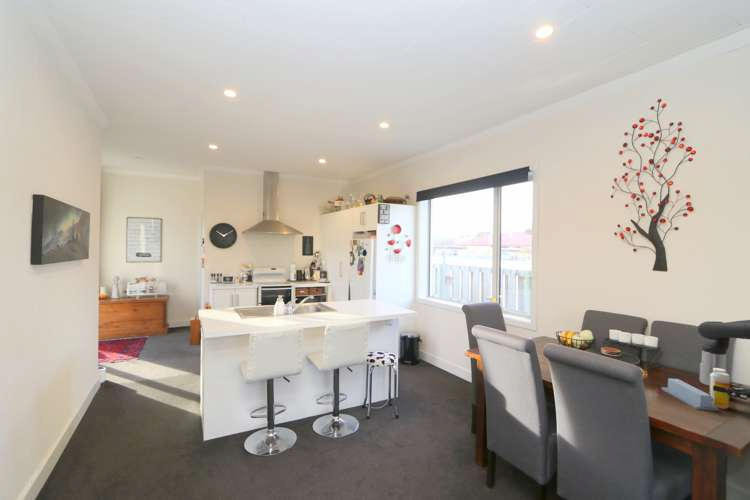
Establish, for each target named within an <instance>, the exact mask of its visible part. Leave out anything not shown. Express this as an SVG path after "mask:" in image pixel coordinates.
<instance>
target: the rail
mask: <svg viewBox="0 0 750 500" xmlns="http://www.w3.org/2000/svg"><path fill="white" fill-rule="evenodd" d="M661 391H664V392H665V393H668V394H669V395H670V396H673V397H674V398H676V399H678V400H680V401H681V402H683V403H684V404H687V406H689V407H692V408H694V409H696V410H702V411H718V412H719V409H720V408H718V407H715V406H713V405H712V403H711V399H712V396H711V394H710V393H707V392H704V391H703V390H701V389H698V387H697V388H696V387H695V386H692V385H691V384H689V383H687V382H685V381H683V380H681V379H679V378H667V386H666V387H663V386H661Z"/></svg>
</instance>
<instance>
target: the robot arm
mask: <svg viewBox="0 0 750 500" xmlns="http://www.w3.org/2000/svg"><path fill="white" fill-rule="evenodd" d="M697 332H698V333H699V334H700V336H702V337H703V338H705V339H707V340H708V342H706V343H704V344H703V345H702V346H701V347H702V348H701V362H700V363H699V382H700V383H701V384H703V385H706V386H708V387H710V374H711V373H713V368H720V369H724V370H726V367H727V365H726V364H727V351H728V349H729V347H730V338H732V339H741V340H750V319H744V320H743V319H742V320H735V321H728V322H723V321H703V322H701V323H700V324H699V325H698V327H697ZM713 390H714V391H718V392H723V393H725V394H727V395H728V396H729V397H733V398H737V399H742V400H744V401H746V400H747V399H750V388H748V387H745V386H744V385H743V384H738V383H737V384H736V383H733V382H730V388H723V387H718V386H715V385H714V386H713Z"/></svg>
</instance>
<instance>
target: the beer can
mask: <svg viewBox="0 0 750 500" xmlns="http://www.w3.org/2000/svg"><path fill="white" fill-rule="evenodd" d="M730 383H731V377H730V375H729V374H728V373H727V372H726V373H723V372H718V371H713V373H712V374H711V394H710V395H711V396H712V399H711V405H713V406H715V407H717V408H719V409H723V410H725V409H728V408H730V396H728V395H727V394H725V393H723V392H718V391H714V390H713V386H714V385H715V386H718V387H723V388H730Z"/></svg>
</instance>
